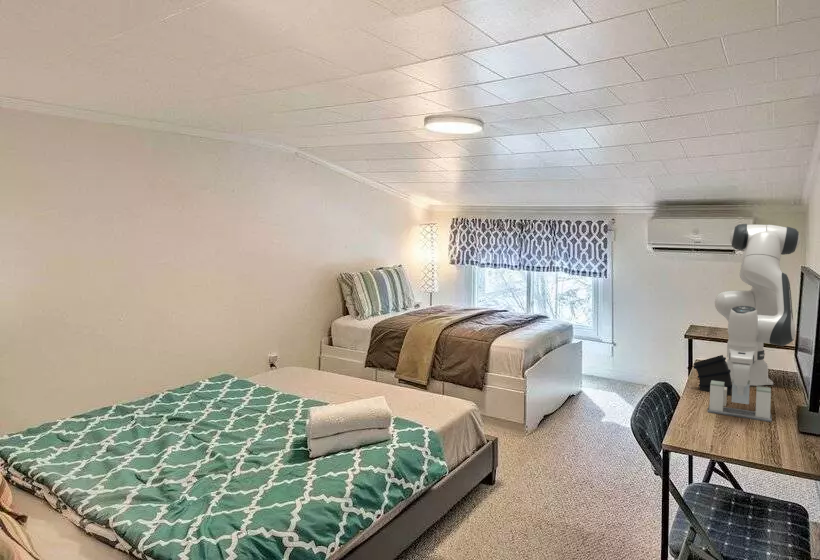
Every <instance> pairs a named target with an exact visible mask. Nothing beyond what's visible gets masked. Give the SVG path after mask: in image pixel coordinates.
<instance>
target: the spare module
mask: <svg viewBox="0 0 820 560" xmlns="http://www.w3.org/2000/svg"><path fill="white" fill-rule="evenodd" d="M727 397H728V395H727V387H724V407H727V403H728V402H727V399H728V398H727Z"/></svg>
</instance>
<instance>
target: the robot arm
mask: <svg viewBox="0 0 820 560" xmlns="http://www.w3.org/2000/svg"><path fill="white" fill-rule="evenodd" d="M799 233H800V232H799V231H798V230H797V229H796V228H793V227H790V226H786V227H785V226H780V225H775V224H756V223H755V224H754V223H753V224H747V223H741V224H737V225H736V226H734V228H733V229H732V231H731V233H730V235H729V241H730V244H731V247H732V248H733V249H735V250H737V251H741V252H742V251H743V255H742V259H741V260H742V261H741V264H740V270H739V278H740V280H741V281H742V282H744V283H745V284H746V285H748V286H750V287H751V289H750V290H728V291H727V290H726V291H722V292H719V293H718V294H717V296H716V297H715V299H714V307H715V310H716V311H717V312H718V313H719V314H720V315H721V316H723V317H724V318H725V319H726V320H727V334H728V340H727V343H726V358H727V359H726V360H725V361H726V363H727V365H728V369H729V370H730V371H731V372H730V376H731V383H732V380H733V381H734V385H737V394H738V395H741V396H743V393H744V386H747V383H748V380H750V386H756V387H757V386H773V385H774V382H773V380H772V379H770V377H769V364H768V363H767V362H766V361H765V354H766V353H765V350H764V345H765V343H766V344H769V345H770V344H771V345H774V346H779V347H784V346H787V345H789V344H790V343H792V342H793V341H795V337H796V327H795V323H794V322H795V321H794V317H793V315H794V314H793V313H794V312H793V303H792V301H793V300H792V292H791V291H792V290H791V284H790V279H789V277H788V275H787V273H784V272H782V270H781V267H780V266H781V265H780V262H781V257H782V255H785V256H786V255H791V254H793V253H795V252H796V250H797V248H798V247H799V245H800V241H801V237H800V234H799Z"/></svg>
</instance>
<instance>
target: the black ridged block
mask: <svg viewBox="0 0 820 560" xmlns="http://www.w3.org/2000/svg"><path fill="white" fill-rule="evenodd" d="M726 361H727V357H726V356H724V355H723V354H721V355H717V356H714V357H710V358H706V359H703V360H699V361H695V362H694V363H693V365H694V366H693V369H694V370H696V372H697V375H698V376H697V379H698V380H699V384H698V388H699V390H700V391H702V392H709V393H710V383H711V380H713V381H721V382H724V387H727V396H732V382H731V376H730V372H731V371H730V370H729V369H728V365H727V363H726Z"/></svg>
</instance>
